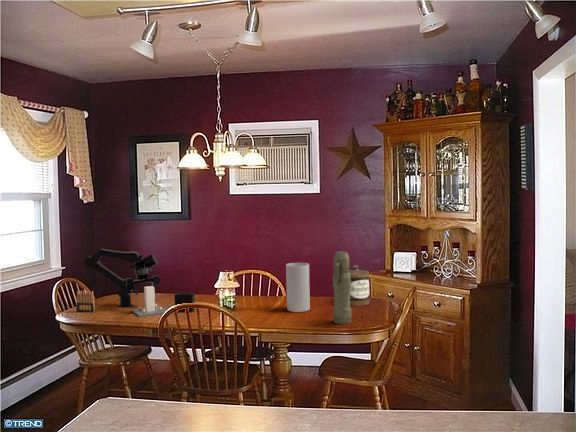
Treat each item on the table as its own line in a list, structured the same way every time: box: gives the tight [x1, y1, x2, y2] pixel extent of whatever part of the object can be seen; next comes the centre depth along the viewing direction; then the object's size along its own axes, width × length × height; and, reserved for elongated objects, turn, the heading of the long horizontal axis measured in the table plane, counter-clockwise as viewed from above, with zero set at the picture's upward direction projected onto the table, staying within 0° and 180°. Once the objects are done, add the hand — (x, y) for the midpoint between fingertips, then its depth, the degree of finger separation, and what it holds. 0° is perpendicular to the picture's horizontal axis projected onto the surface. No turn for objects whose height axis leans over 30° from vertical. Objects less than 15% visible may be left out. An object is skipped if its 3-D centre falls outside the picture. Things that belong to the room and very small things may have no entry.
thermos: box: [332, 250, 352, 325], centre depth 286 cm, size 9×12×35 cm
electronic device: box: [174, 292, 196, 313], centre depth 318 cm, size 4×10×10 cm, turn 78°
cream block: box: [143, 285, 156, 312], centre depth 317 cm, size 4×4×13 cm
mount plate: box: [131, 303, 167, 318], centre depth 318 cm, size 16×16×3 cm
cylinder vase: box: [285, 262, 311, 313], centre depth 315 cm, size 12×12×25 cm
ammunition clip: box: [76, 290, 96, 313], centre depth 323 cm, size 11×2×12 cm, turn 78°
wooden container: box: [349, 264, 370, 307], centre depth 328 cm, size 15×15×22 cm
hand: (145, 293), depth 324 cm, fingers open, 9 cm apart
